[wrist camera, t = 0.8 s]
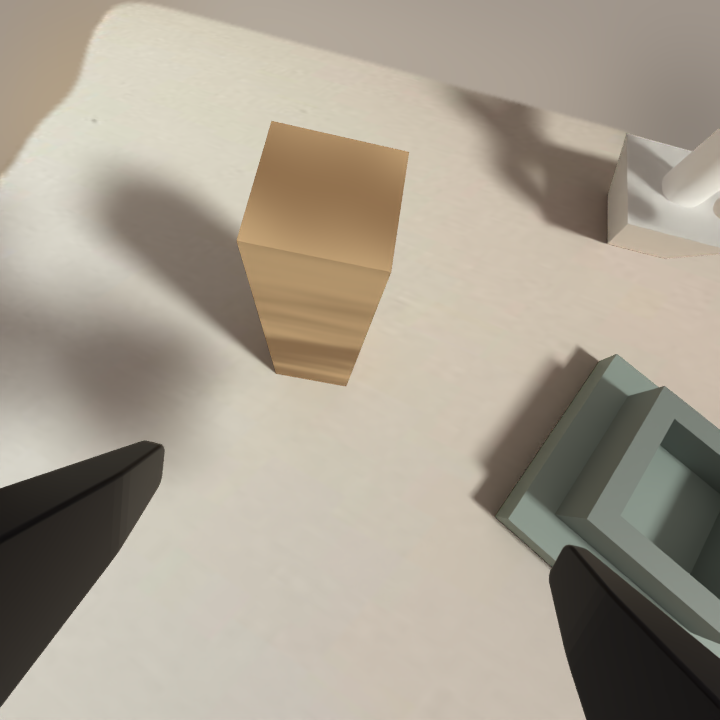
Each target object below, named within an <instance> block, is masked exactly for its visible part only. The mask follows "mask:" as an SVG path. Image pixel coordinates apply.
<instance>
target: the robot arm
mask: <svg viewBox="0 0 720 720" xmlns="http://www.w3.org/2000/svg"><path fill="white" fill-rule="evenodd" d="M164 451H165V450H164V447H163V445H162V444H158V443H154V442H150V441H141V442H138V443H135V444H132V445H129V446H126V447H123V448H120V449H117V450H114V451H111V452H108V453H105V454H102V455H99V456H96V457H93V458H90V459H87V460H84V461H81V462H78V463H75V464H72V465H69V466H66V467H63V468H60V469H57V470H54V471H51V472H48V473H45V474H42V475H39V476H36V477H33V478H30V479H27V480H24V481H21V482H18V483H15V484H12V485H9V486H6V487H3V488H0V707H1V706H2V705H3V703H4V702H5V701H6V699H7V698H8V697H9V695H10V694H11V693H12V691H13V690H14V689H15V688H16V686H17V685H18V684H19V682H20V681H21V680H22V678H23V677H24V676H25V674H26V673H27V672H28V670H29V669H30V668H31V667H32V665H33V664H34V663H35V661H36V660H37V659H38V657H39V656H40V655H41V653H42V652H43V651H44V649H45V648H46V647H47V646H48V644H49V643H50V642H51V640H52V639H53V638H54V636H55V635H56V634H57V632H58V631H59V630H60V628H61V627H62V626H63V625H64V623H65V622H66V621H67V619H68V618H69V617H70V615H71V614H72V613H73V611H74V610H75V609H76V607H77V606H78V605H79V604H80V602H81V601H82V600H83V598H84V597H85V596H86V594H87V593H88V592H89V590H90V589H91V588H92V586H93V585H94V584H95V583H96V581H97V580H98V579H99V577H100V576H101V575H102V573H103V572H104V571H105V569H106V568H107V567H108V565H109V564H110V563H111V561H112V560H113V559H114V557H115V556H116V555H117V553H118V552H119V550H120V549H121V547H122V546H123V544H124V542H125V541H126V539H127V538H128V536H129V534H130V533H131V531H132V529H133V528H134V526H135V525H136V523H137V521H138V520H139V518H140V516H141V515H142V513H143V511H144V510H145V508H146V507H147V505H148V503H149V502H150V500H151V498H152V497H153V495H154V493H155V492H156V490H157V489H158V487H159V485H160V482H161V479H162V471H163V462H164ZM549 583H550V588H551V592H552V597H553V601H554V606H555V610H556V614H557V619H558V623H559V628H560V632H561V636H562V641H563V645H564V649H565V653H566V657H567V660H568V664H569V667H570V670H571V674H572V677H573V680H574V683H575V686H576V689H577V692H578V695H579V698H580V702H581V705H582V708H583V711H584V714H585V717H586V720H720V658H719V657H718V656H716V655H715V654H714V653H713V652H712V651H710V650H709V649H708V648H707V647H705V646H704V645H703V644H702V643H701V642H699V641H698V640H697V639H696V638H695V637H693V636H692V635H691V634H690V633H688V632H687V631H686V630H685V629H684V628H682V627H681V626H680V625H679V624H677V623H676V622H675V621H674V620H673V619H671V618H670V617H669V616H668V615H667V614H665V613H664V612H663V611H662V610H660V609H659V608H658V607H657V606H656V605H654V604H653V603H652V602H651V601H649V600H648V599H647V598H646V597H645V596H643V595H642V594H641V593H640V592H639V591H637V590H636V589H635V588H634V587H632V586H631V585H630V584H629V583H628V582H626V581H625V580H624V579H623V578H621V577H620V576H619V575H618V574H617V573H615V572H614V571H613V570H612V569H611V568H609V567H608V566H607V565H606V564H604V563H603V562H602V561H601V560H600V559H598V558H597V557H596V556H595V555H593V554H592V553H591V552H590V551H589V550H587V549H585V548H582V547H578V546H574V545H570V544H569V545H565V546H564V547H563V548H562V550H561V552H560V554H559V555H558V557H557V559H556V561H555V563H554V565H553V567H552V569H551V571H550V574H549Z"/></svg>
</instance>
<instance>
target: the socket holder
mask: <svg viewBox="0 0 720 720" xmlns="http://www.w3.org/2000/svg"><path fill="white" fill-rule="evenodd" d="M495 517H496V518H497V519H498V520H499V521H501V522H502V523H503V524H504V525H505V526H506V527H507V528H508V529H510V530H511V531H512V532H513V533H514V534H515V535H516V536H518V537H519V538H520V539H521V540H522V541H523V542H524V543H525V544H527V545H528V546H529V547H530V548H531V549H532V550H533V551H535V552H536V553H537V554H538V555H539V556H540V557H541V558H542V559H544V560H545V561H546V562H547V563H548V564H549V565H550V566H551V567H553V565H554V563H555V561H556V559H557V557H558V555H559V554H560V552H561V550H562V548H563V547H564V546H565V545H569V544H570V545H574V546H578V547H582V548H585V549H587V550H589V551H590V552H591V553H592V554H593V555H595V556H596V557H597V558H598V559H600V560H601V561H602V562H603V563H604V564H606V565H607V566H608V567H609V568H611V569H612V570H613V571H614V572H615V573H617V574H618V575H619V576H620V577H621V578H623V579H624V580H625V581H626V582H628V583H629V584H630V585H631V586H632V587H634V588H635V589H636V590H637V591H639V592H640V593H641V594H642V595H643V596H645V597H646V598H647V599H648V600H649V601H651V602H652V603H653V604H654V605H656V606H657V607H658V608H659V609H660V610H662V611H663V612H664V613H665V614H667V615H668V616H669V617H670V618H671V619H673V620H674V621H675V622H676V623H677V624H679V625H680V626H681V627H682V628H684V629H685V630H686V631H687V632H688V633H690V634H691V635H692V636H693V637H695V638H696V639H697V640H698V641H699V642H701V643H702V644H703V645H704V646H705V647H707V648H708V649H709V650H710V651H712V652H713V653H714V654H715V655H716V656H718V657H719V658H720V430H719V429H718V428H717V427H716V426H714V425H713V424H712V423H711V422H709V421H708V420H707V419H706V418H704V417H703V416H702V415H701V414H699V413H698V412H697V411H696V410H694V409H693V408H692V407H691V406H689V405H688V404H687V403H686V402H684V401H683V400H682V399H681V398H679V397H678V396H677V395H676V394H674V393H673V392H672V391H670V390H669V389H668V388H667V387H665V386H663V387H658V386H656V385H655V384H654V383H653V382H651V381H650V380H649V379H648V378H646V377H645V376H644V375H643V374H641V373H640V372H639V371H638V370H636V369H635V368H634V367H633V366H631V365H630V364H629V363H628V362H626V361H625V360H624V359H623V358H621V357H620V356H619V355H618V354H615V355H613V356H611V357H608V358H606V359H603V360H601V361H599V362H598V364H597V365H596V367H595V368H594V370H593V371H592V373H591V374H590V376H589V377H588V379H587V380H586V382H585V383H584V385H583V386H582V388H581V389H580V391H579V392H578V394H577V395H576V397H575V398H574V400H573V401H572V403H571V404H570V406H569V407H568V409H567V410H566V412H565V413H564V415H563V416H562V418H561V419H560V421H559V422H558V423H557V425H556V426H555V428H554V429H553V431H552V432H551V434H550V435H549V437H548V438H547V440H546V441H545V443H544V444H543V446H542V447H541V449H540V450H539V452H538V453H537V455H536V456H535V458H534V459H533V461H532V462H531V464H530V465H529V467H528V468H527V470H526V471H525V473H524V474H523V476H522V477H521V479H520V480H519V481H518V483H517V484H516V486H515V487H514V489H513V490H512V492H511V493H510V495H509V496H508V498H507V499H506V501H505V502H504V504H503V505H502V507H501V508H500V510H499V511H498V513H497V514H496V516H495Z"/></svg>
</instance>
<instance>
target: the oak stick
mask: <svg viewBox="0 0 720 720" xmlns="http://www.w3.org/2000/svg"><path fill="white" fill-rule="evenodd" d="M408 155H409V152H406V151H402V150H398V149H393V148H389V147H384V146H380V145H375V144H371V143H367V142H362V141H358V140H353V139H349V138H345V137H340V136H336V135H331V134H327V133H323V132H318V131H314V130H309V129H305V128H300V127H296V126H292V125H287V124H283V123H278V122H274V121H272V122H271V125H270V128H269V132H268V135H267V139H266V142H265V145H264V149H263V152H262V156H261V159H260V162H259V166H258V169H257V173H256V176H255V179H254V183H253V186H252V190H251V193H250V196H249V200H248V203H247V207H246V210H245V213H244V217H243V220H242V224H241V227H240V231H239V234H238V237H237V244H238V247H239V251H240V254H241V257H242V261H243V264H244V267H245V271H246V274H247V277H248V281H249V284H250V288H251V291H252V294H253V298H254V301H255V304H256V308H257V311H258V314H259V318H260V321H261V325H262V328H263V331H264V335H265V338H266V341H267V345H268V348H269V351H270V355H271V358H272V362H273V365H274V368H275V372H276V374H281V375H287V376H292V377H298V378H303V379H309V380H314V381H320V382H325V383H331V384H336V385H342V386H346V385H347V383H348V380H349V378H350V375H351V373H352V370H353V368H354V365H355V362H356V360H357V357H358V355H359V352H360V350H361V347H362V345H363V342H364V340H365V337H366V335H367V332H368V329H369V327H370V324H371V322H372V319H373V317H374V314H375V312H376V309H377V307H378V304H379V301H380V299H381V296H382V294H383V291H384V289H385V286H386V284H387V281H388V279H389V276H390V274H391V269H392V262H393V256H394V249H395V242H396V235H397V229H398V222H399V215H400V209H401V202H402V195H403V188H404V182H405V175H406V168H407V162H408Z"/></svg>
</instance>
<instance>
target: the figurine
mask: <svg viewBox="0 0 720 720" xmlns="http://www.w3.org/2000/svg"><path fill="white" fill-rule="evenodd" d="M607 244H610V245H614V246H617V247H621V248H625V249H629V250H633V251H637V252H641V253H645V254H649V255H652V256H656V257H660V258H664V259H667V258H679V257H692V256H704V255H716V254H720V128H719V129H718V130H717V131H715V132H714V133H713V134H712V135H711V136H710V137H708V138H707V139H706V140H705V141H704V142H703V143H702V144H701V145H699V146H698V147H697V148H696V149H694V150H693V151H690V150H686V149H683V148H679V147H675V146H671V145H668V144H664V143H661V142H657V141H653V140H650V139H646V138H643V137H639V136H635V135H632V134H628V133H627V134H626V137H625V140H624V143H623V147H622V150H621V153H620V156H619V160H618V163H617V166H616V169H615V172H614V176H613V179H612V182H611V185H610V189H609V192H608V229H607Z"/></svg>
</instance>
